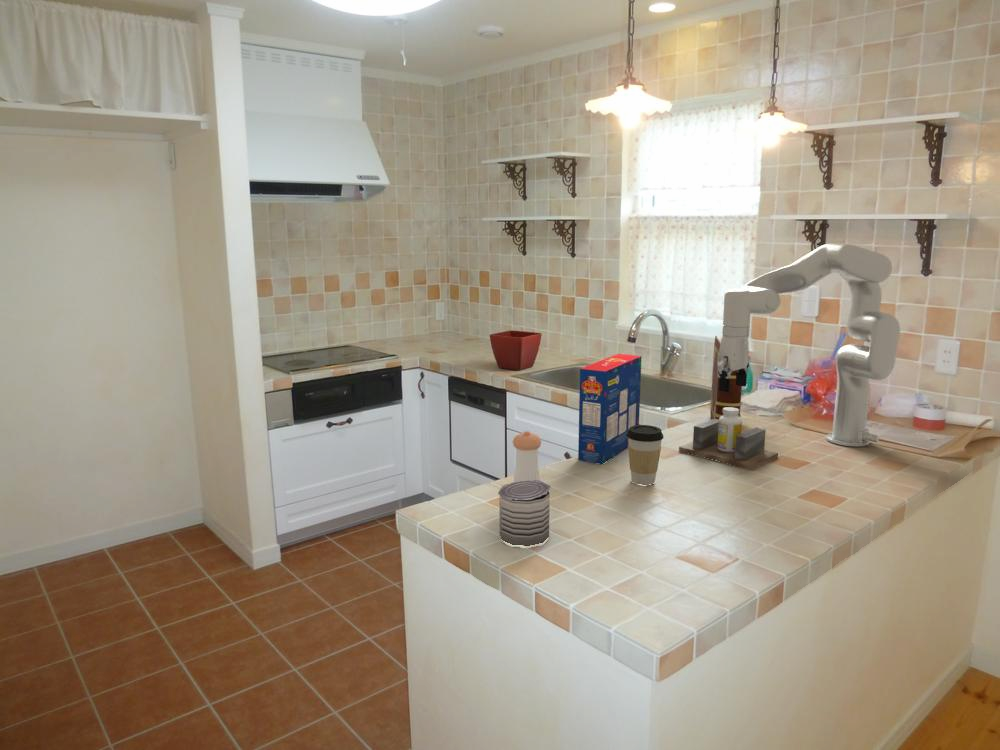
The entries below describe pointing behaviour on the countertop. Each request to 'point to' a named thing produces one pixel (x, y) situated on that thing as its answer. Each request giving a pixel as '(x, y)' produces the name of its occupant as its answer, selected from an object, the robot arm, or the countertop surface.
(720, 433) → the supplement bottle
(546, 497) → the can
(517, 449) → the pepper shaker
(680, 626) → the countertop surface
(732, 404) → the decorative book
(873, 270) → the robot arm
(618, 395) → the blue cereal box
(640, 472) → the coffee cup
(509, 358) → the plant pot
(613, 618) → the countertop surface
